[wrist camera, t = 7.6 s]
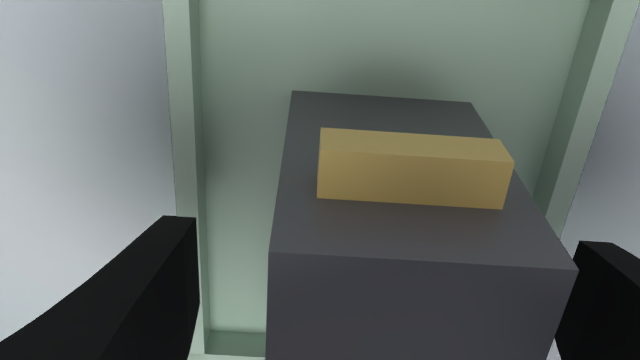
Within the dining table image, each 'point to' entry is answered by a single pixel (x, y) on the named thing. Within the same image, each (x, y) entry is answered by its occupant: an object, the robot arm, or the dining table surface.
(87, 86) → the dining table surface
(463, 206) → the grey block with tab
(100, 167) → the dining table surface
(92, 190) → the dining table surface
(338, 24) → the tray
